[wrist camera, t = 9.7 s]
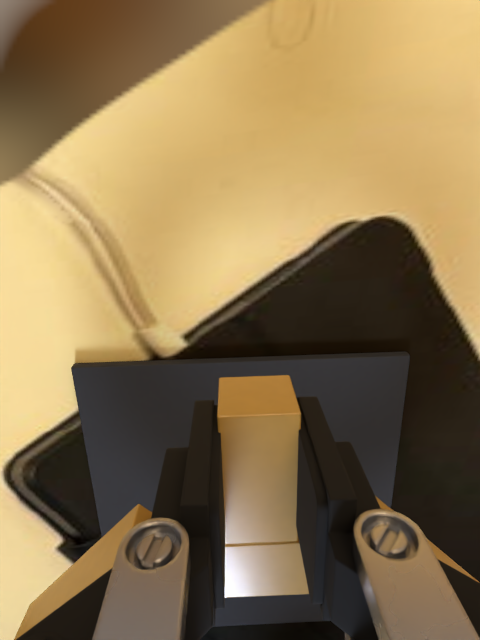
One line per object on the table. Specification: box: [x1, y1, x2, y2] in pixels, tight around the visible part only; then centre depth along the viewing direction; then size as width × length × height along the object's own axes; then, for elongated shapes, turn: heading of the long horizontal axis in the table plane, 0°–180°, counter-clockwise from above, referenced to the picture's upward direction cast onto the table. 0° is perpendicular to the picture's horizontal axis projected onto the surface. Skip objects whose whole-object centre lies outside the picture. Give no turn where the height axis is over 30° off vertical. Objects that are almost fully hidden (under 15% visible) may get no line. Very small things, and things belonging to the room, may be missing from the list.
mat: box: [71, 352, 410, 627], centre depth 23 cm, size 18×16×1 cm
